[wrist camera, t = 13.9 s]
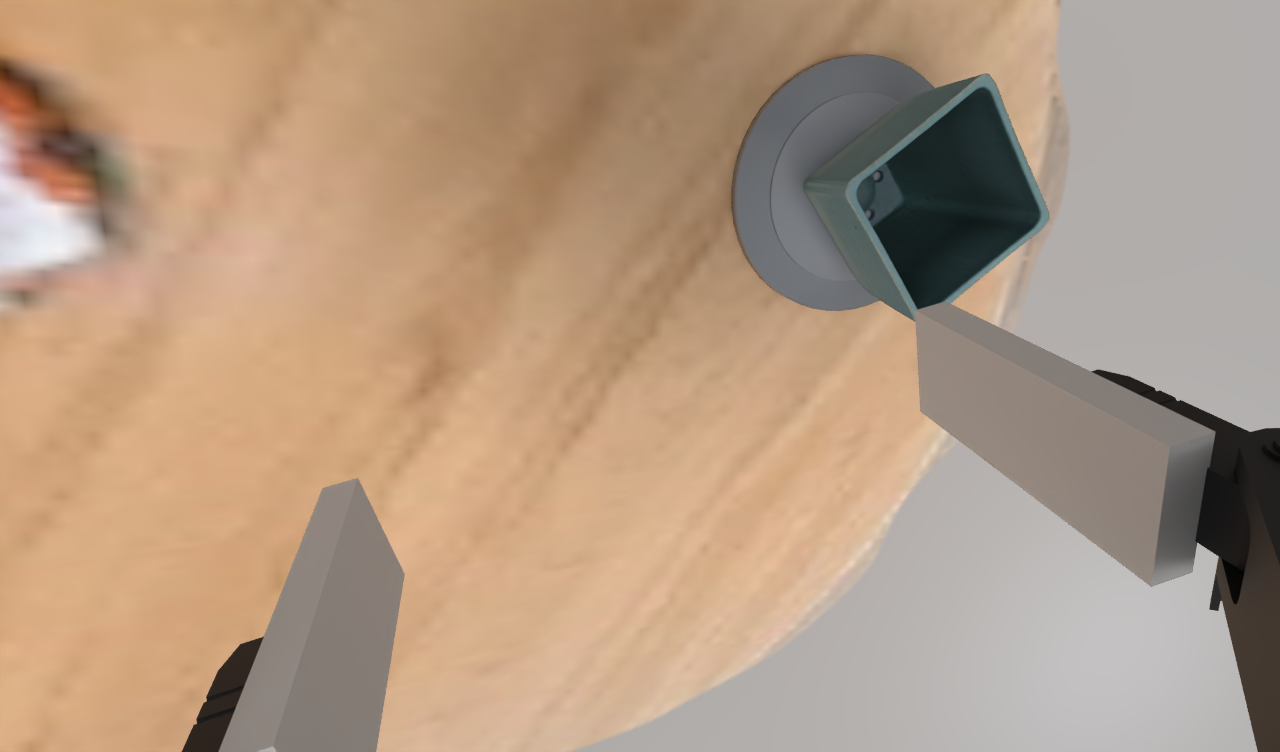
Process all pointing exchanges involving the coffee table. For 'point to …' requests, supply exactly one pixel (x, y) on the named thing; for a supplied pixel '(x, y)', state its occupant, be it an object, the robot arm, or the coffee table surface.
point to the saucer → (809, 173)
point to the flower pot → (930, 196)
